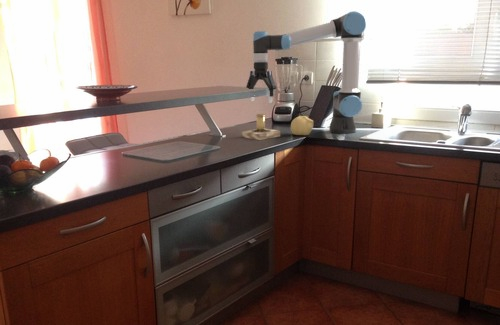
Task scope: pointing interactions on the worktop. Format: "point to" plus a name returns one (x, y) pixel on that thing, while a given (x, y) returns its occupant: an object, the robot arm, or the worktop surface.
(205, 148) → the worktop surface
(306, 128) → the pale yellow round lump
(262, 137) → the jig
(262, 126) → the bushing
